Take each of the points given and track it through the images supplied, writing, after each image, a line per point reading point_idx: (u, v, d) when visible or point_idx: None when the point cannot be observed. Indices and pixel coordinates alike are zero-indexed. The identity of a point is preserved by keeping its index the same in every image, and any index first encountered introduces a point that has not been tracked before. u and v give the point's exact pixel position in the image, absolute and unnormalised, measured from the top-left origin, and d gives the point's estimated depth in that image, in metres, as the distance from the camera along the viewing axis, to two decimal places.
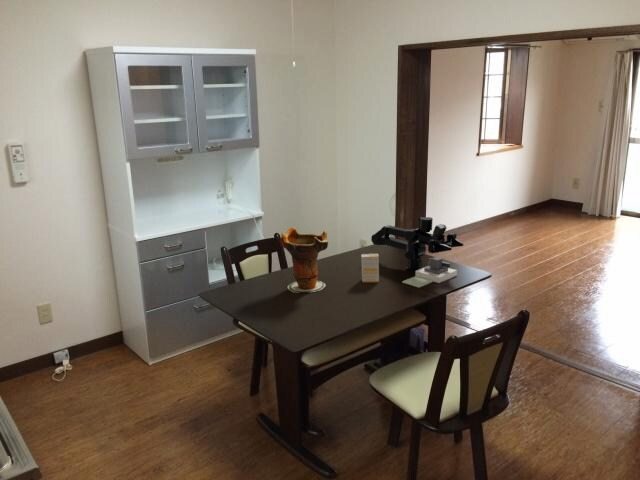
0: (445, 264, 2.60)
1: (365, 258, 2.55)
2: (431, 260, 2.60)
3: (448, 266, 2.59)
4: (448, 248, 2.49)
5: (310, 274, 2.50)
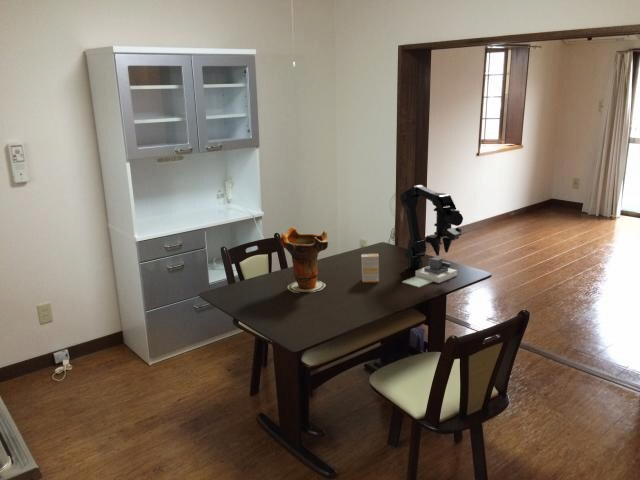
0: (445, 264, 2.60)
1: (365, 258, 2.55)
2: (431, 260, 2.60)
3: (448, 266, 2.59)
4: (437, 253, 2.51)
5: (310, 274, 2.50)
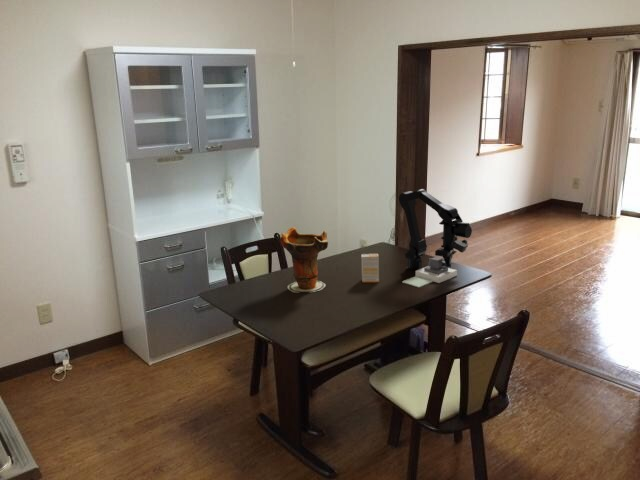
0: None
1: (365, 258, 2.55)
2: (431, 260, 2.60)
3: (449, 266, 2.59)
4: (447, 264, 2.58)
5: (310, 274, 2.50)
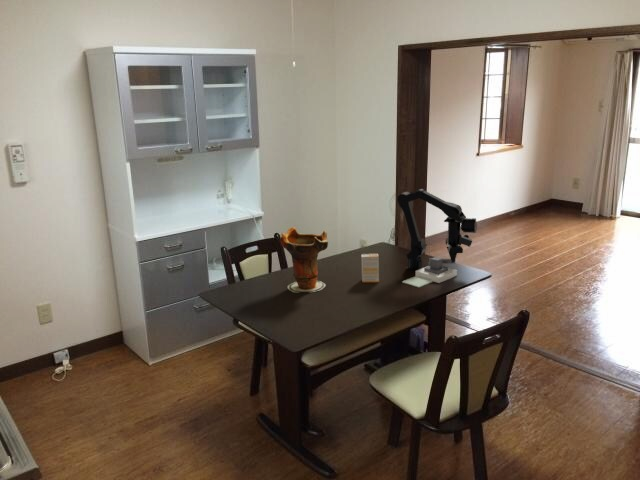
0: (450, 260, 2.65)
1: (365, 258, 2.55)
2: (431, 260, 2.60)
3: (453, 262, 2.65)
4: (453, 260, 2.63)
5: (310, 274, 2.50)
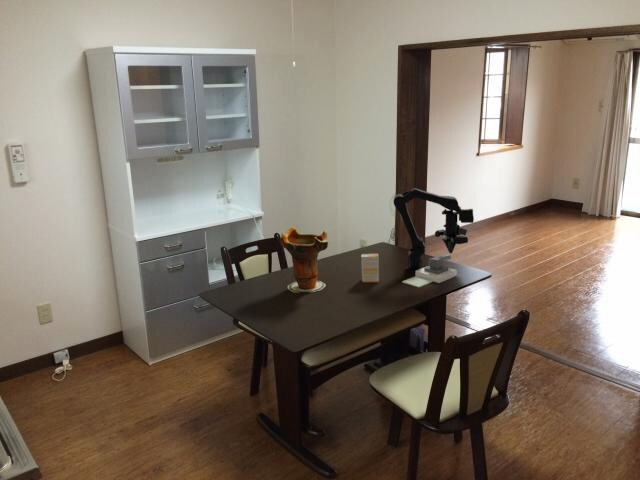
0: (446, 257, 2.70)
1: (365, 258, 2.55)
2: (431, 260, 2.60)
3: (449, 257, 2.71)
4: (451, 251, 2.69)
5: (310, 274, 2.50)
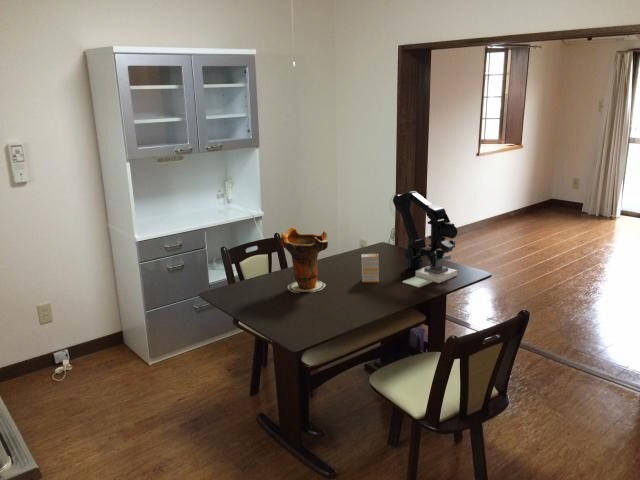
0: (446, 257, 2.71)
1: (365, 258, 2.55)
2: None
3: (449, 257, 2.71)
4: (432, 264, 2.59)
5: (310, 274, 2.50)
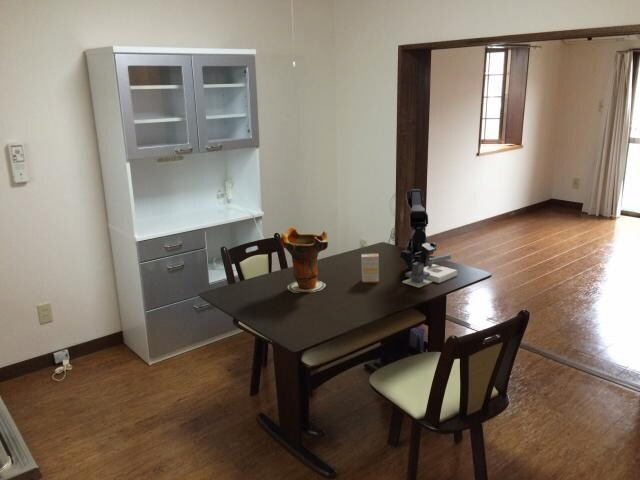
0: (446, 257, 2.71)
1: (365, 258, 2.55)
2: None
3: (449, 257, 2.71)
4: (410, 268, 2.50)
5: (310, 274, 2.50)
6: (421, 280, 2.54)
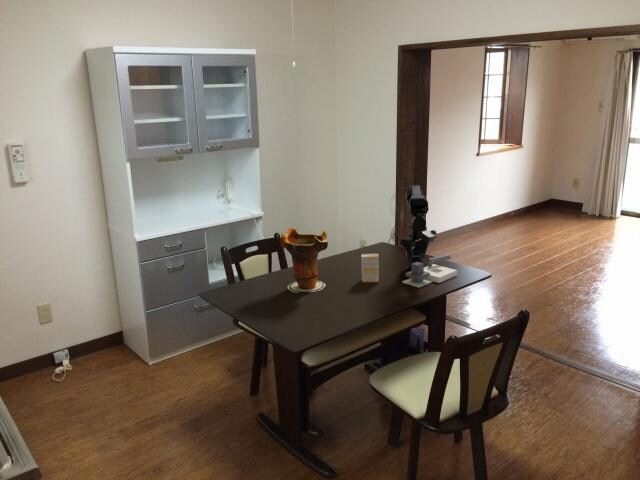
0: (446, 257, 2.71)
1: (365, 258, 2.55)
2: (412, 265, 2.53)
3: (449, 257, 2.71)
4: (410, 256, 2.48)
5: (310, 274, 2.50)
6: (421, 280, 2.54)
